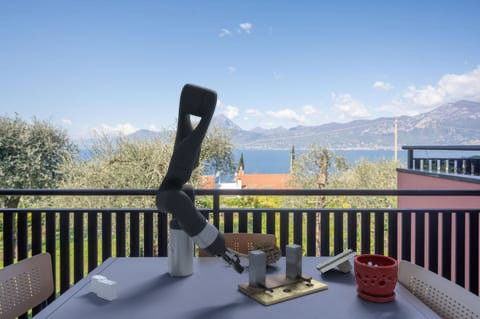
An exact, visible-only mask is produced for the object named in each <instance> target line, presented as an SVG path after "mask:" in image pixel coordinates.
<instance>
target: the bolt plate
mask: <svg viewBox="0 0 480 319" xmlns="http://www.w3.org/2000/svg"><path fill="white" fill-rule="evenodd" d="M328 286H329V285H328V284H326V283H323V282H320V281H319V280H316V279H313V278H312V280H311V283H308V282H306V281H304V282H300V283H296V284H292V285H288V286H284V287H280V288H276V289H273V290H274V292H273V293H271V292H269V291H265V292H261V293H257V294H253V297H252V299H254V300H256V301H258V302H259V303H261V304H262V305H264V306H266V307H267V306H270V305H273V304H277V303H280V302H281V303H282V302H284V301H288V300H292V299H294V298H298V297H301V296H305V295H309V294H312V293H316V292H320V291H323V290H327V289H329V287H328Z"/></svg>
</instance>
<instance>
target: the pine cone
mask: <svg viewBox="0 0 480 319" xmlns="http://www.w3.org/2000/svg"><path fill="white" fill-rule="evenodd" d="M230 250H231V252H232V253H233V254H234V255H235V254H237V255H238V257H239V258H240V257H241V258H244V259H248V260H249V253H248V254H245V253H240V252H237V251H236V250H234V249H232V248H230ZM256 250H260V251H262V252H265V253H266V266H269V265H270V264H276V263H277V262H279V261H280V259H281V258H282V250H281V248H280V247H279V245H276V244H275V243H273V242H272V241H265V240H264V241H262V242H259V244H258V243H256V244H254V245H253V246H251V247H250V250H249V252H250V251H256Z"/></svg>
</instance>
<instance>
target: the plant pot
mask: <svg viewBox="0 0 480 319" xmlns="http://www.w3.org/2000/svg"><path fill="white" fill-rule="evenodd" d="M369 263H371V264H369ZM381 264H382V265H381ZM353 271H354V280H355V283H356V284H357V287H356V289H355V291H356V293H357V294H358V296H359V297H361V298H362V299H364V300H367V301H369V302H374V303H387V302H388V303H389V302H391V301H393V300H394V299H395V298H396V291H395V289H396V286H397V284H398V280H399V276H398V275H399V274H398V273H399V261H398V260H396V259H394V258H393V257H389V256H386V255H382V254H375V253H374V254H371V253H369V254H368V253H366V254H365V253H364V254H360V255H359V254H358V255H355V256H354V257H353Z"/></svg>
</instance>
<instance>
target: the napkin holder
mask: <svg viewBox="0 0 480 319" xmlns="http://www.w3.org/2000/svg"><path fill="white" fill-rule="evenodd" d="M90 291H91V293H94V294H96V296H97V297H99V298H101V299H104V300H107V301H110V302H111V301H115V300H118V282H117V281H113V280H109V279H107V277H106V276H102V275H99V274H96V275H93V276H91V290H90Z"/></svg>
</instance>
